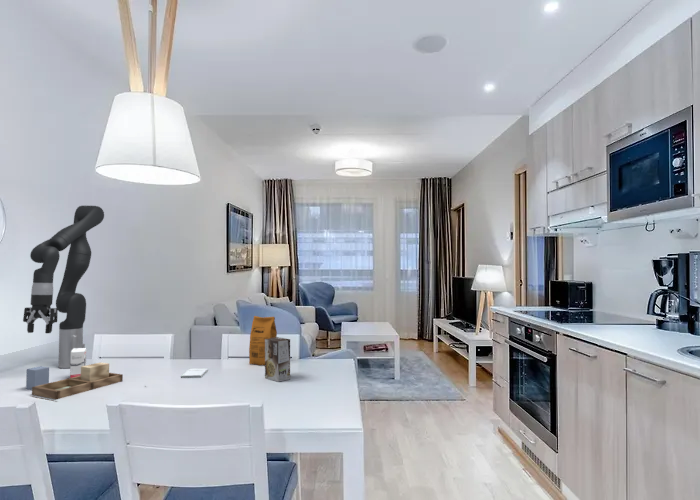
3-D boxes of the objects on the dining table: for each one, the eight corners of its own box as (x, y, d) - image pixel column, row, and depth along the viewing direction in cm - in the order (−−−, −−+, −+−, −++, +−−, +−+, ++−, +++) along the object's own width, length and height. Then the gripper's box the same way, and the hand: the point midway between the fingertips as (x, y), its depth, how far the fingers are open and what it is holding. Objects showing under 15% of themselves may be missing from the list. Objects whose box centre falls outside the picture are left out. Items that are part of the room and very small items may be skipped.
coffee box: (290, 379, 181) (291, 339, 181) (278, 382, 176) (278, 341, 177) (276, 375, 187) (277, 336, 188) (264, 378, 182) (264, 338, 183)
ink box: (84, 380, 179) (84, 350, 179) (69, 381, 177) (70, 351, 177) (86, 375, 187) (86, 347, 187) (72, 376, 184) (72, 348, 185)
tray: (99, 379, 180) (99, 371, 180) (122, 383, 175) (122, 374, 175) (31, 396, 157) (32, 387, 157) (56, 401, 151) (56, 391, 151)
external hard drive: (180, 379, 183) (188, 372, 195) (201, 379, 183) (208, 371, 196) (180, 375, 183) (188, 368, 195) (201, 375, 183) (208, 368, 196)
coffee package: (256, 360, 217) (256, 314, 217) (279, 362, 213) (279, 315, 213) (245, 364, 207) (245, 316, 208) (269, 366, 203) (269, 317, 204)
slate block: (40, 387, 169) (40, 366, 169) (48, 389, 167) (49, 367, 167) (26, 391, 164) (26, 369, 164) (34, 392, 162) (35, 370, 162)
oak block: (100, 380, 176) (100, 362, 176) (108, 381, 174) (109, 363, 174) (80, 385, 169) (80, 366, 169) (89, 386, 167) (89, 367, 167)
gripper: (64, 294, 190) (61, 332, 189) (35, 293, 192) (32, 331, 191) (49, 294, 183) (46, 334, 181) (19, 293, 185) (16, 333, 184)
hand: (39, 332), depth 186 cm, fingers open, 8 cm apart
